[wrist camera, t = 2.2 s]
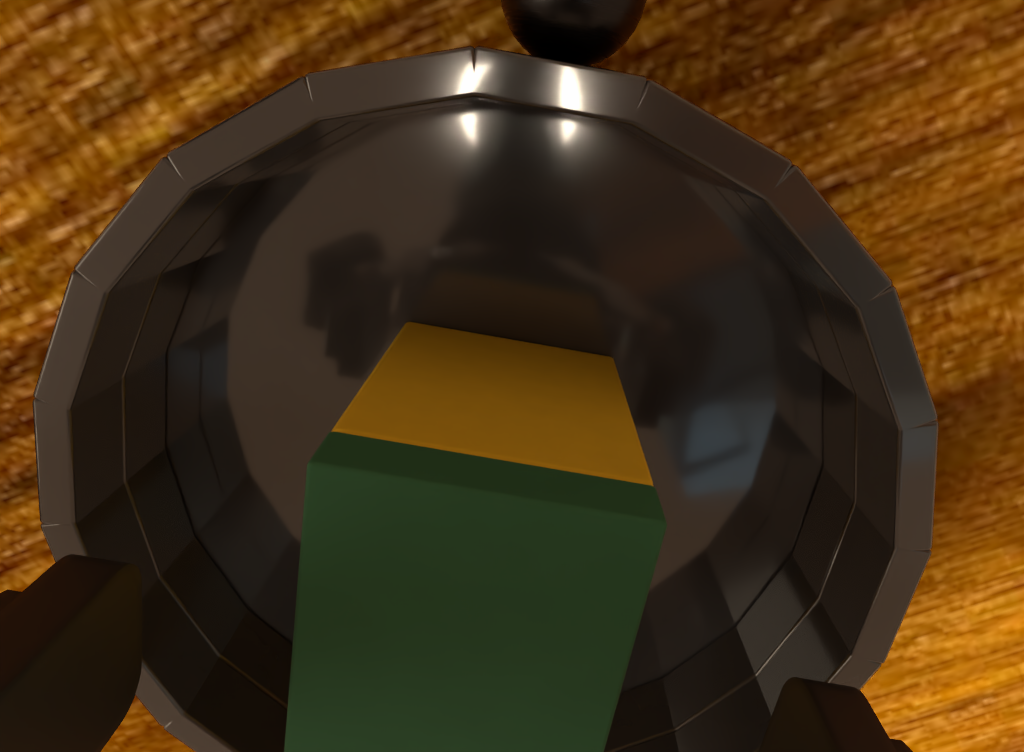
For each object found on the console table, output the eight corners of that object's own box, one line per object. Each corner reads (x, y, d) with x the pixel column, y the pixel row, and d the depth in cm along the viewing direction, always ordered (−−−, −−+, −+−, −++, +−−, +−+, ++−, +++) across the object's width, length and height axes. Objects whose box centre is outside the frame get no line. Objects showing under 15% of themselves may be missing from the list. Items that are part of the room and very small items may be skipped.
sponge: (405, 319, 13) (305, 462, 8) (615, 355, 13) (669, 522, 8) (377, 545, 15) (278, 800, 9) (564, 576, 15) (577, 847, 9)
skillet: (148, 5, 12) (1, -41, 9) (953, 150, 12) (1103, 160, 9) (150, 662, 17) (55, 792, 14) (733, 757, 17) (779, 907, 14)
